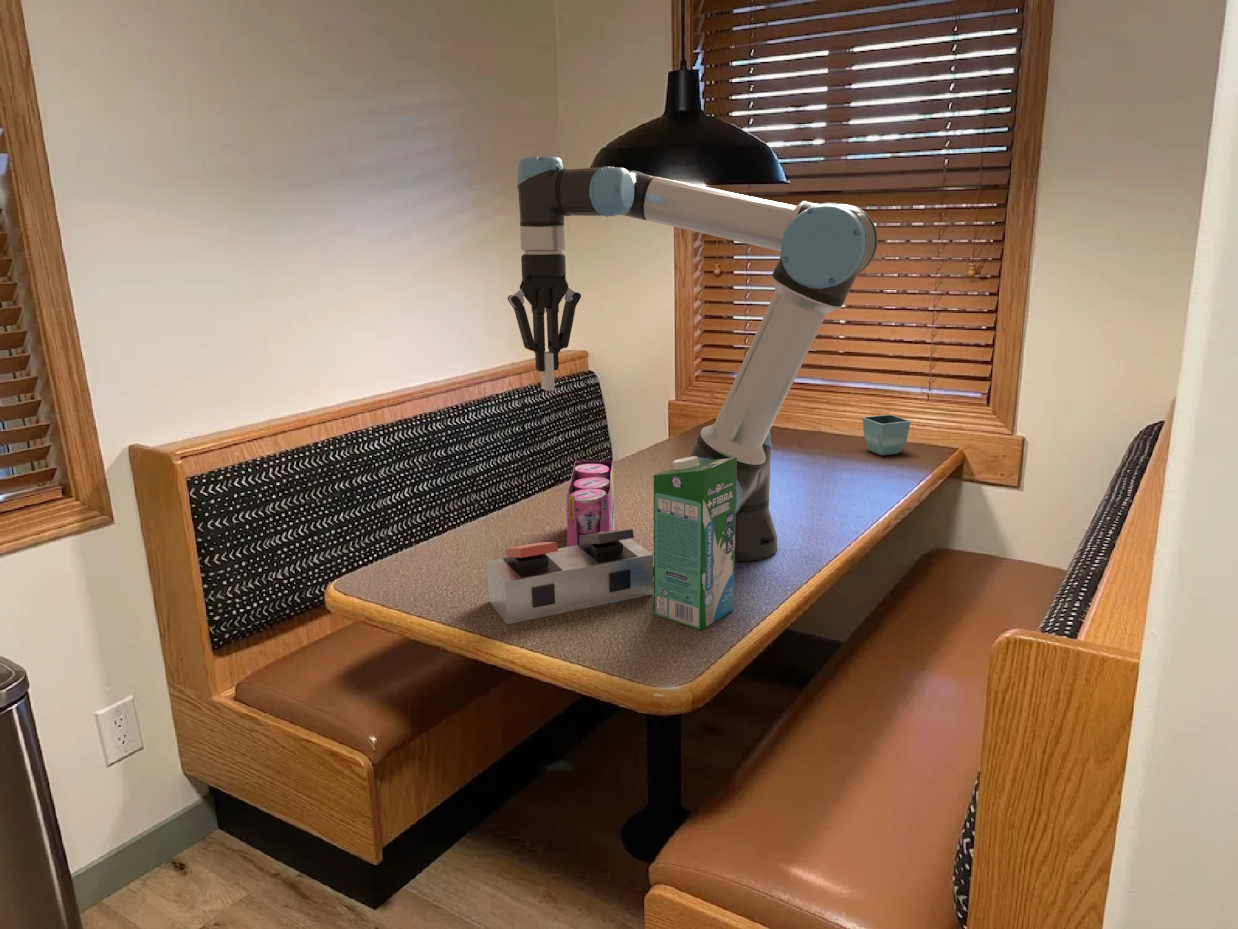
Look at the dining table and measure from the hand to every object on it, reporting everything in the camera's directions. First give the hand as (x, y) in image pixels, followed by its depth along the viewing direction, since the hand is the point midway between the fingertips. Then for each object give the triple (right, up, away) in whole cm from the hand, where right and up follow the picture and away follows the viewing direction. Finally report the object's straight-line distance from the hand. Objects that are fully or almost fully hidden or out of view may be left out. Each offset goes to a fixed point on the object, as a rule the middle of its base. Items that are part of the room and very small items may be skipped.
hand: (547, 388), depth 160 cm
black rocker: (+11, -25, -13) cm, 30 cm away
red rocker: (-1, -27, -18) cm, 32 cm away
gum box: (+8, -29, +11) cm, 32 cm away
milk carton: (+24, -37, -19) cm, 48 cm away
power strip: (+8, -35, -12) cm, 38 cm away
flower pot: (+81, -11, +71) cm, 108 cm away
